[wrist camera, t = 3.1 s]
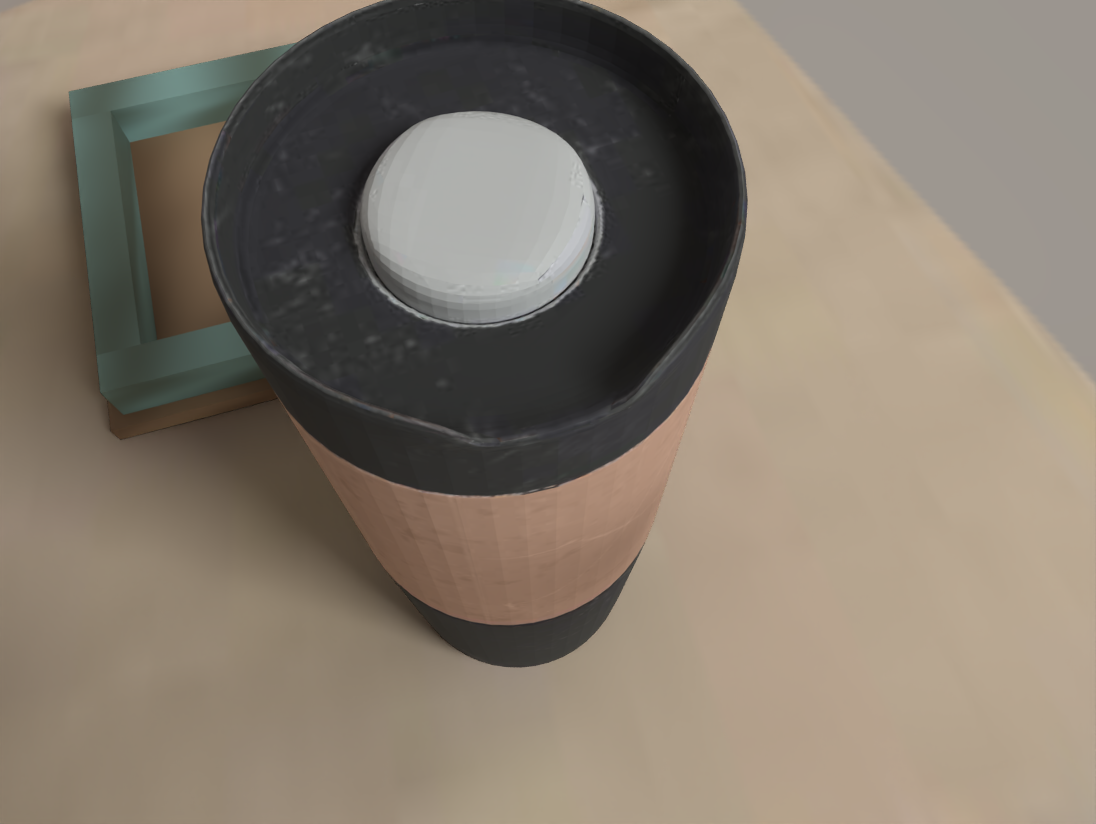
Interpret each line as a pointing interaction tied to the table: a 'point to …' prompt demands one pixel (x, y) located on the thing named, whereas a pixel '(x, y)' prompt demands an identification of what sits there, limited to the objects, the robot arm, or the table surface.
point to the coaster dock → (160, 244)
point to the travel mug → (483, 292)
